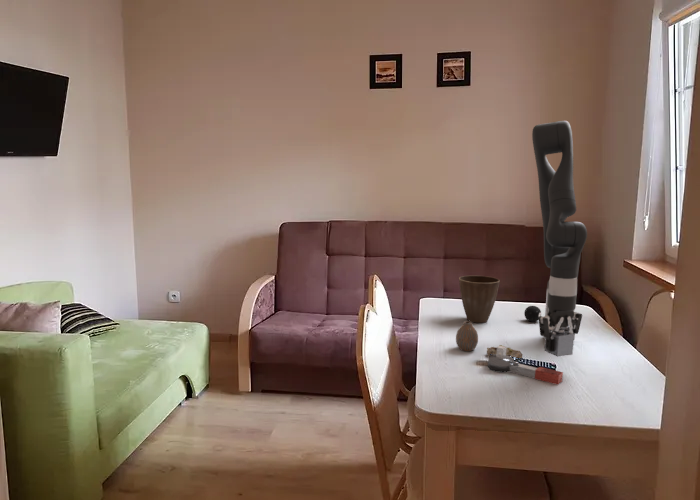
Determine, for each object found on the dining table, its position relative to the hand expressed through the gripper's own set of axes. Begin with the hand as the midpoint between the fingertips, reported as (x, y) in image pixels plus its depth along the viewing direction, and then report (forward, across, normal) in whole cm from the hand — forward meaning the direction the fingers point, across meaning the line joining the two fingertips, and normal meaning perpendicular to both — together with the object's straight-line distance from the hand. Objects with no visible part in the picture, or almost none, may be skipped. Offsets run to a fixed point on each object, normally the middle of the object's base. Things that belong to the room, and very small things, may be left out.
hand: (558, 349), depth 164 cm
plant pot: (+7, -9, -53) cm, 54 cm away
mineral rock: (+7, +8, -14) cm, 17 cm away
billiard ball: (+7, -29, -46) cm, 54 cm away
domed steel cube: (+1, 0, 0) cm, 1 cm away
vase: (+6, +14, -24) cm, 29 cm away
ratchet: (+6, +12, 0) cm, 13 cm away
